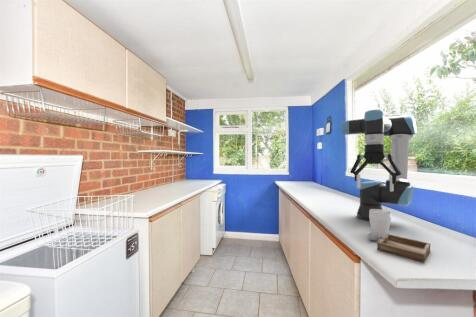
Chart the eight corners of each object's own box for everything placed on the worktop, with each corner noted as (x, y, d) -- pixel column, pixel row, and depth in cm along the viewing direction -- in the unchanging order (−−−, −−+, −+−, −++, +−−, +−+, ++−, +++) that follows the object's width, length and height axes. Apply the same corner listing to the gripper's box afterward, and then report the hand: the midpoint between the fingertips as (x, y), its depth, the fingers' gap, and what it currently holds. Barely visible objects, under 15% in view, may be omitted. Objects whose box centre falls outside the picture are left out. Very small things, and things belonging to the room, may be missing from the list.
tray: (387, 240, 101) (387, 234, 101) (430, 250, 90) (430, 243, 90) (377, 249, 91) (377, 242, 91) (424, 262, 80) (424, 254, 80)
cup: (394, 239, 103) (394, 213, 103) (373, 237, 104) (373, 213, 104) (385, 232, 112) (385, 209, 111) (366, 231, 113) (366, 208, 113)
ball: (369, 238, 104) (369, 229, 104) (379, 240, 101) (379, 232, 101) (366, 240, 101) (366, 231, 101) (376, 242, 98) (376, 234, 98)
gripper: (342, 144, 108) (343, 187, 108) (405, 142, 89) (405, 193, 90) (349, 145, 113) (349, 185, 113) (409, 142, 94) (409, 191, 95)
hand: (374, 189), depth 102 cm, fingers open, 13 cm apart
